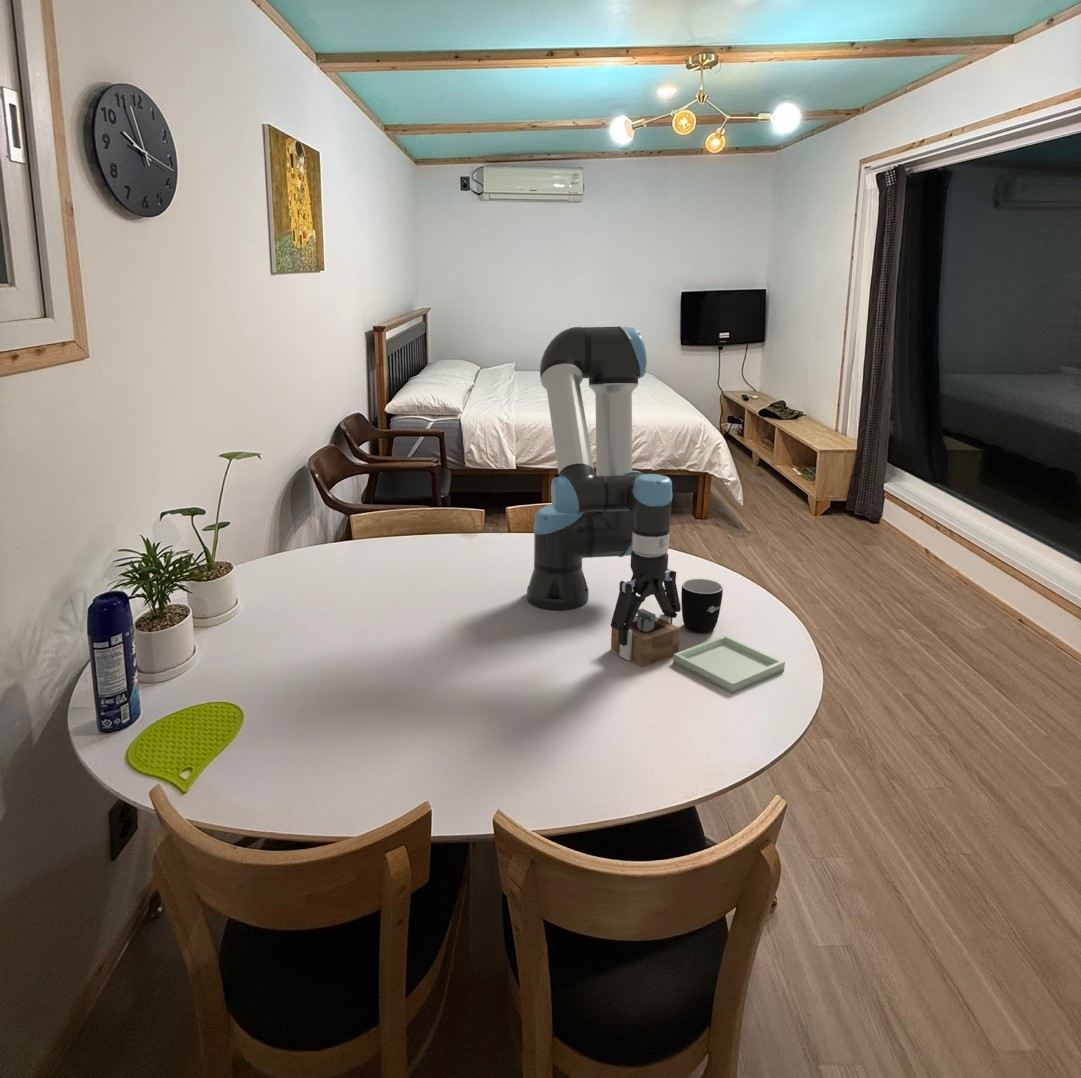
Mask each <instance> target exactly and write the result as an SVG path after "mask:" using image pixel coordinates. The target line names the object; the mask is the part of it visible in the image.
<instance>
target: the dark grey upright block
mask: <svg viewBox="0 0 1081 1078" xmlns="http://www.w3.org/2000/svg"><path fill="white" fill-rule="evenodd" d="M637 615H638V617H637V630H638V631H640V632H642V633H644V634H647V633H650V632H653V631H654V626H655V618H656V617H657V616H656V615H657V614H655V613H653V612H651V611H648V610H646V609H644V608H639V609H638V612H637V614H636V616H637Z"/></svg>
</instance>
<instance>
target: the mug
mask: <svg viewBox="0 0 1081 1078" xmlns="http://www.w3.org/2000/svg"><path fill="white" fill-rule="evenodd" d="M723 591H724V588H723V585H722V583H719V582H718V581H715V580H712V579H705V578H692V579H688V580H685V581H683V583H681V593H680V595H681V597H680V598H681V599H680V600H681V601H680V604H681V614H682V616H681V617H682V622H683V625H684V627H685V629H686V630H688V631H689V632H691V633H695V634H696V633H697V634H707V633H708V634H709V633H711V632H712V631H714V629H715V628H716V625H717V623H718V621H719V620H718V619H719V616H720V612H721V607H722V600H723V595H724V594H723V593H724V592H723Z"/></svg>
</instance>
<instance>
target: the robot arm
mask: <svg viewBox="0 0 1081 1078" xmlns="http://www.w3.org/2000/svg"><path fill="white" fill-rule="evenodd" d="M645 345H646V344H645V342H644V338H643V336H642V335H641V333H640V331H639V330H638V329H636V328H635V327H629V326H621V325H619V326H587V327H586V326H585V327H584V326H574V327H573V326H572V327H569V328H566V329H564V330H562V331H561V332H560V333H558V334H557V335H556V336H554V338H552V340H551V341H550V342H549V344H548V345H547V347H546V348H545V350H544V352H543V355H542V357H541V360H540V365H539V377H540V381H541V382H540V383H541V386H542V388H544V389H545V391H546V393H547V402H548V407H549V414H550V415H549V416H550V422H551V429H552V430H551V431H552V437H553V443H554V450H555V459H556V465H557V472H558V477H557V476H556V477H554V478H552V480H551V482H550V483H551V484H550V485H551V486H550V496H551V497H550V499H551V504H548V505H545V506H543V507H542V508H539V510H537V512H536V513H535V516H534V523H533V528H532V529H533V534H534V545H533V549H534V550H533V552H534V553H533V570H532V574H531V577H530V581H529V584H528V586H527V589H526V599H527V601H528V603H530V604H531V605H533V606H535V607H538V608H541V609H546V610H554V611H556V610H558V611H560V610H561V611H562V610H572V609H576V608H579V607H582V606H584V605H585V604H587V602H588V601H589V594H590V593H589V587H588V584H587V580H586V577H585V574H584V572H583V559H586V558H591V559H592V558H607V557H608V558H609V557H611V558H612V557H618V558H623V557H629V556H630V569H631V571H632V576H631V578H630V580H629V581H624V580H621V581H620V582H619V586H618V588H619V591H618V592H619V593H618V596H617V600H616V604H615V607H614V611H613V613H612V618H611V622H610V627H611V629H612V628H614V629H616V630H618V631H619V633H618V642H619V644H620V654H619V657H621V658H623V659H624V660H627V661H628V662H629V661H632V660H631V650H632V630H630V627H631V625H632V622H633V620H634V618H635V616H637V612H638V610H639V609H640V607H641V605H642V603H643V602H645V600H646V599H647V598H648V597H650V596H651V595H653V596H654V597H655V599H656V602H657V604H658V606H659V608H660V610H661V612H662V613H660V614H659V616H658V618H660V619H662V620H664V621H666V622H669V623H671V624H673V618H674V619H676V618H677V616H678V613H679V612H680V611H682V606H681V601H680V597H679V593H678V587H677V581H676V580H677V571H675V570H673V569H670V568H668V566H669V554H668V551H669V547H670V546H669V545H670V543H669V542H670V529H671V517H672V516H671V514H672V501H673V498H674V497H673V495H674V494H673V482H672V480H671V478H670V477H668V476H666V475H662V474H658V473H657V474H656V473H646V474H645V473H643V472H641V471H638V470H633V397H632V396H633V392H634V391H635V389H636V388H637V387H638V386H639V379H641V378H643V377H644V376H645V375H646V372H647V365H648V364H647V363H648V362H647V361H648V360H647V351H646V346H645ZM583 379H588V387H589V388H590V389H591V391H592V392H594V395H595V461H596V462H595V464H596V465H595V468H594V462H593V455H592V448H591V443H590V438H589V432H588V431H589V430H588V426H587V420H586V419H587V418H586V414H585V413H586V412H585V406H584V401H583V397H582V396H583V395H582V389H581V383H582V382H583ZM595 471H596V473H595ZM624 623H625V625H624Z"/></svg>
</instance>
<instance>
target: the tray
mask: <svg viewBox="0 0 1081 1078" xmlns="http://www.w3.org/2000/svg"><path fill="white" fill-rule="evenodd" d="M672 657H673V659H672V660H673V661H672V663H673V664H674V665H677V666H678V667H680V668H682V669H684V670H686V671H688V672H690V673H691V674H694V675H696V676H697V677H700V678H701V679H703V680H705V681H707V682H709V683H711V684H713V685H715V686H717V687H719V688H721V689H723V690H725V691H726V692H728V693H731V694H735V693H736V692H739V691H741V690H743V689H746V688H748V687H750V686H753V685H755V684H757V683H760V682H762V681H764V680H766V679H769V678H771V677H773V676H776V675H778V674H780V673H782V672H784V671H785V665H786V662H785V661H783V660H782V659H780V658H777V657H775V656H772V655H771V654H769V653H766V652H764V651H761V650H760V649H757V648H755V647H753V646H750V645H748V644H746V643H743V642H742V641H739V640H737V639H735V638H732V637H730V636H728V635H726V634H724V635H720V636H719V637H716V638H713V639H711V640H708V641H705V642H702V643H700V644H696V645H694V646H692V647H689V648H686V649H684V650H681V651H679V652H678V653H675V654H674V656H672Z"/></svg>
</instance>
